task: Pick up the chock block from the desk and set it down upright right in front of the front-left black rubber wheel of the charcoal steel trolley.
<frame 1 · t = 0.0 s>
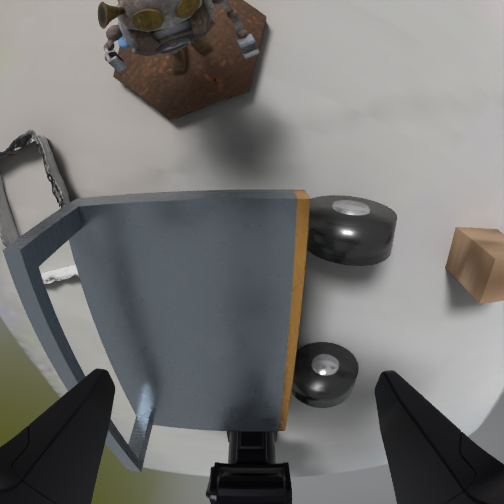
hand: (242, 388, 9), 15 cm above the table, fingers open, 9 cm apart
decorative tile: (44, 206, 22), on the table
robot figurine: (187, 46, 16), on the table
trolley: (213, 292, 25), on the table
chock: (472, 247, 23), on the table
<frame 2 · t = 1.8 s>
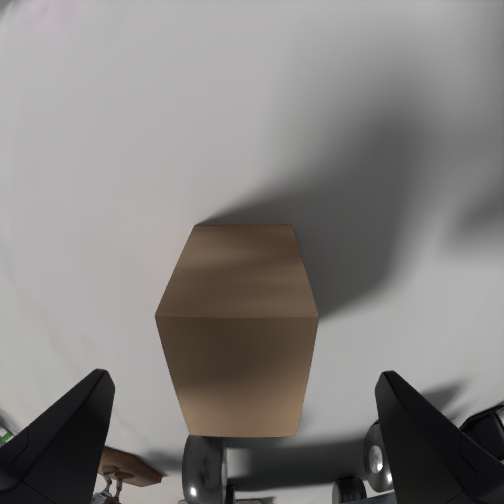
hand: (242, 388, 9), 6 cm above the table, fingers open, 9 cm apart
decorative tile: (223, 503, 32), on the table
robot figurine: (117, 462, 25), on the table
trolley: (288, 476, 24), on the table
chock: (244, 286, 14), on the table
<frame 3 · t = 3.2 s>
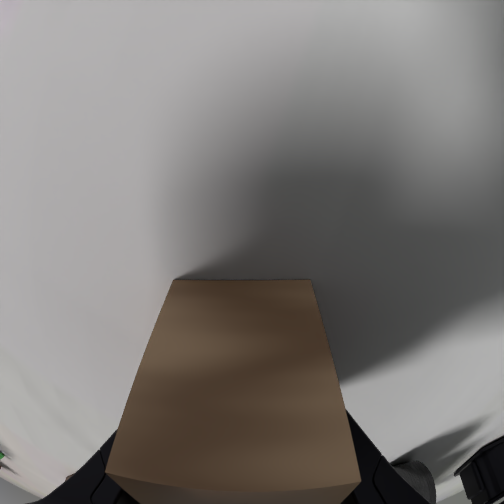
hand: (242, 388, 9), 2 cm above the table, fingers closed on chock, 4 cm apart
robot figurine: (111, 492, 22), on the table
chock: (243, 353, 10), on the table, touching gripper
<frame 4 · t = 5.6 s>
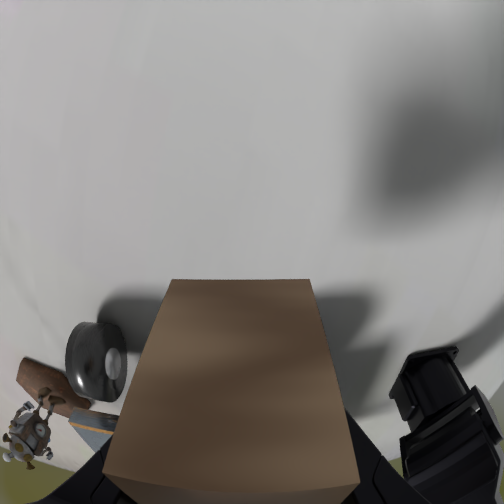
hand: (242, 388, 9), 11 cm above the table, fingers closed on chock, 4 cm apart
robot figurine: (53, 388, 27), on the table
trolley: (206, 407, 27), on the table
chock: (242, 353, 10), point 9 cm above the table, touching gripper
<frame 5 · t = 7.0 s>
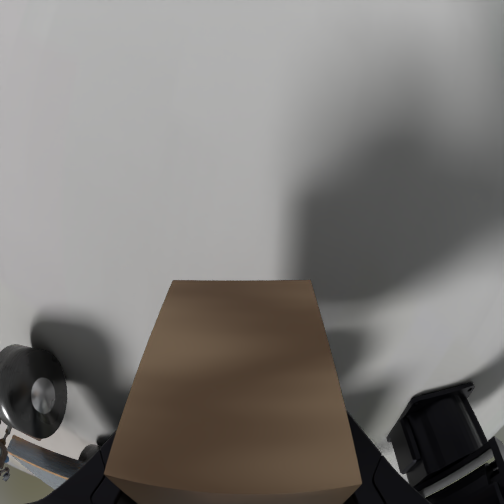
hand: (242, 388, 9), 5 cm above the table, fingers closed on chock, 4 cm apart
robot figurine: (13, 406, 21), on the table
trolley: (165, 444, 21), on the table
chock: (243, 354, 10), point 4 cm above the table, touching gripper
when the fingers open (3 cm above the table, at t = 8.1 s): chock drops 2 cm, on the table.
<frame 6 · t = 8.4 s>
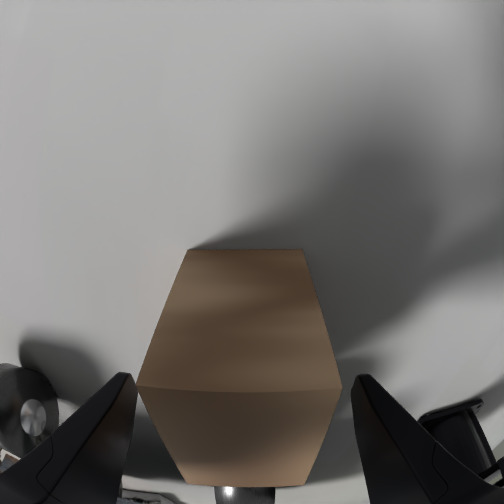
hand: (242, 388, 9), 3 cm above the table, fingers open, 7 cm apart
decorative tile: (137, 495, 27), on the table
trolley: (162, 463, 19), on the table
chock: (246, 317, 12), on the table
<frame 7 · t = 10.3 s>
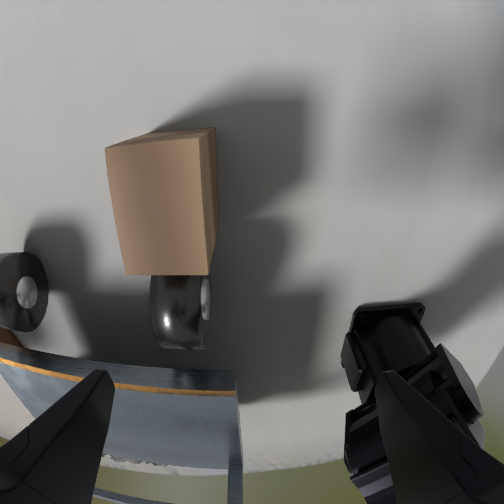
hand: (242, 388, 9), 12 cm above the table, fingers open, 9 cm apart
robot figurine: (2, 343, 25), on the table
trolley: (131, 361, 25), on the table
chock: (184, 179, 17), on the table
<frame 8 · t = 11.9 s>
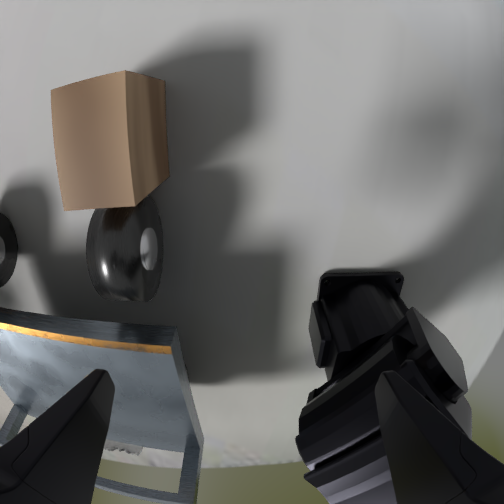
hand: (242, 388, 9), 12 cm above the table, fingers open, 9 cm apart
decorative tile: (91, 417, 32), on the table
trolley: (94, 331, 24), on the table
chock: (136, 131, 17), on the table
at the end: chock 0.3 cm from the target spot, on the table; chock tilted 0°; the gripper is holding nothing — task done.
